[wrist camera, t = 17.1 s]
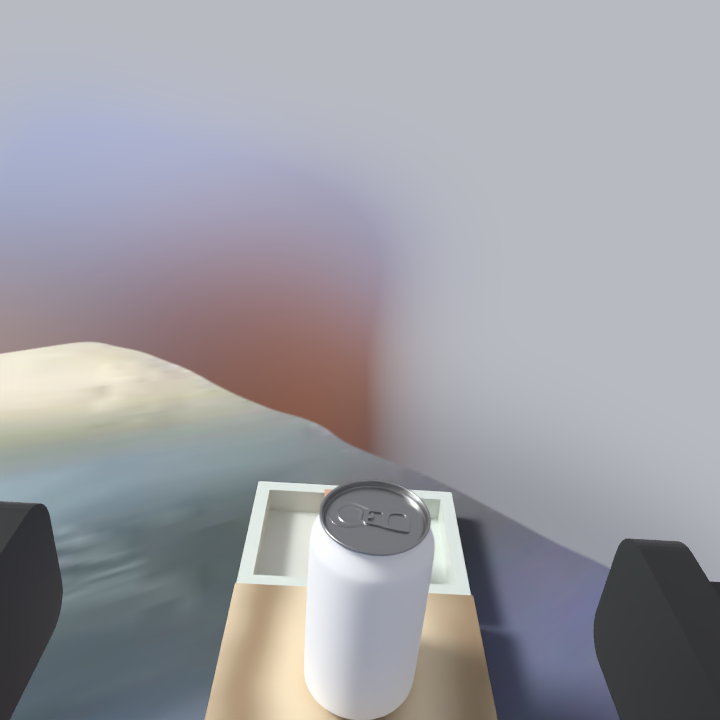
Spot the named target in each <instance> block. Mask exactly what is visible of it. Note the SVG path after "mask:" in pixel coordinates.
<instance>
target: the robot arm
mask: <svg viewBox="0 0 720 720" xmlns="http://www.w3.org/2000/svg"><path fill="white" fill-rule="evenodd" d="M62 593H63V588H62V579H61V574H60V569H59V563H58V558H57V553H56V547H55V542H54V536H53V531H52V526H51V520H50V516H49V512H48V510H47V508H46V506H45V505H43V504H39V503H21V502H3V501H0V720H10V718H11V716H12V714H13V712H14V710H15V708H16V706H17V704H18V702H19V700H20V698H21V696H22V694H23V692H24V690H25V688H26V686H27V684H28V682H29V680H30V678H31V676H32V674H33V672H34V670H35V668H36V666H37V664H38V662H39V660H40V658H41V656H42V654H43V652H44V650H45V648H46V646H47V644H48V642H49V640H50V638H51V636H52V634H53V631H54V629H55V627H56V624H57V621H58V618H59V614H60V610H61V604H62ZM594 643H595V650H596V654H597V658H598V661H599V664H600V667H601V670H602V672H603V675H604V678H605V680H606V683H607V686H608V688H609V691H610V694H611V697H612V699H613V702H614V705H615V707H616V710H617V713H618V715H619V718H620V720H720V582H710V581H709V580H708V578H707V577H706V575H705V573H704V572H703V570H702V569H701V567H700V565H699V564H698V562H697V560H696V559H695V557H694V556H693V554H692V552H691V551H690V550H689V548H688V547H687V546H686V545H684V544H683V543H681V542H678V541H661V540H644V539H625V540H623V541H622V542H621V543H620V545H619V547H618V549H617V551H616V554H615V557H614V560H613V563H612V566H611V569H610V572H609V575H608V578H607V581H606V584H605V587H604V590H603V593H602V596H601V599H600V602H599V605H598V608H597V610H596V614H595V619H594Z"/></svg>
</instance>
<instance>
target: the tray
mask: <svg viewBox="0 0 720 720" xmlns="http://www.w3.org/2000/svg"><path fill="white" fill-rule="evenodd" d="M336 487H338V486H332V485H315V484H298V483H281V482H263V481H259V483H258V487H257V492H256V496H255V501H254V505H253V510H252V515H251V519H250V524H249V528H248V533H247V537H246V542H245V546H244V551H243V556H242V560H241V565H240V569H239V574H238V578H237V583H246V584H265V585H284V586H303V587H307V579H308V559H309V543H310V534H311V529H312V526H313V523H314V521H315V519H316V518H317V516H318V515H319V510H320V506H321V503H322V501H323V499H324V493H325V489H334V488H336ZM411 491H412V492H414V493H415V494H416V495H417V496H419V497H420V498H421V499H422V501H423V502H424V503H425V504H426V506H427V508H428V510H429V513H430V517H431V526H430V527H431V530H432V533H433V536H434V541H435V552H434V560H433V567H432V573H431V579H430V586H429V592H428V593H436V594H455V595H471V593H470V587H469V582H468V577H467V572H466V567H465V561H464V556H463V551H462V546H461V541H460V535H459V530H458V525H457V520H456V515H455V509H454V504H453V499H452V494H451V492H436V491H419V490H411Z"/></svg>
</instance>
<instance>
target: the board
mask: <svg viewBox="0 0 720 720" xmlns="http://www.w3.org/2000/svg"><path fill="white" fill-rule="evenodd" d="M306 600H307V587H303V586H284V585H265V584H246V583H235V586H234V591H233V595H232V600H231V604H230V609H229V613H228V618H227V622H226V627H225V631H224V636H223V640H222V645H221V649H220V654H219V658H218V663H217V667H216V672H215V676H214V681H213V685H212V690H211V694H210V699H209V703H208V708H207V713H206V717H205V720H351V719H346V718H343V717H340V716H337V715H335V714H333V713H331V712H329V711H328V710H326V709H325V708H324V707H322V706H321V705H320V704H319V703H318V702H317V701H316V700H315V699H314V697H313V696H312V695H311V693H310V691H309V689H308V687H307V685H306V681H305V676H304V646H305V622H306ZM372 720H498V719H497V714H496V709H495V704H494V699H493V694H492V689H491V684H490V678H489V673H488V668H487V663H486V658H485V653H484V648H483V643H482V638H481V633H480V628H479V622H478V617H477V612H476V607H475V602H474V597H473V595H455V594H436V593H428V598H427V604H426V610H425V616H424V622H423V628H422V634H421V640H420V646H419V652H418V658H417V664H416V669H415V675H414V680H413V684H412V687H411V690H410V692H409V694H408V696H407V698H406V699H405V701H404V702H403V703H402V704H401V705H400V706H399V707H398V708H397V709H396V710H394V711H393V712H391V713H389V714H387V715H385V716H383V717H380V718H377V719H372Z"/></svg>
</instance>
